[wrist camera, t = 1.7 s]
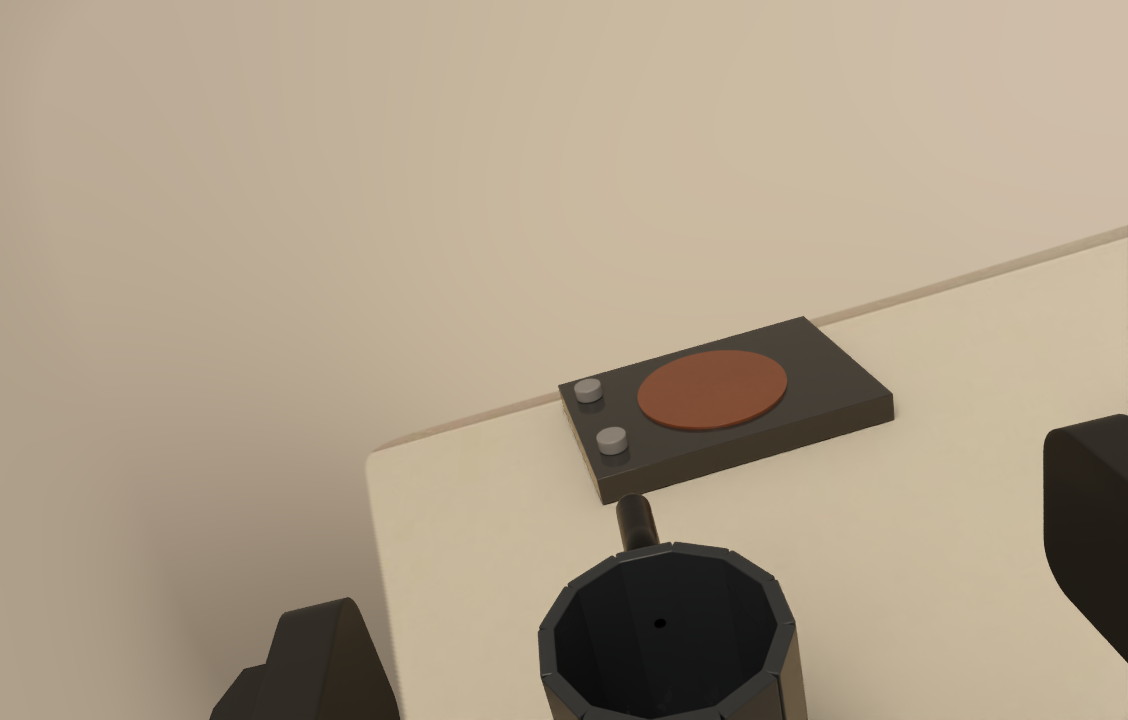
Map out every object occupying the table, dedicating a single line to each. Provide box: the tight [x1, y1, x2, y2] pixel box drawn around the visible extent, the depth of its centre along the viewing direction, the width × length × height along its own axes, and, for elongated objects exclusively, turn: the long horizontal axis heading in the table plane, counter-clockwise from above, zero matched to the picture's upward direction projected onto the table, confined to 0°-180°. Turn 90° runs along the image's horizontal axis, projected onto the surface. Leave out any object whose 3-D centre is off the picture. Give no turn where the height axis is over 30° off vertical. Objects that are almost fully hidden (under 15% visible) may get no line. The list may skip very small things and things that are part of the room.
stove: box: [558, 316, 894, 505], centre depth 51 cm, size 16×11×2 cm
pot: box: [538, 493, 808, 720], centre depth 27 cm, size 12×6×9 cm, turn 4°
